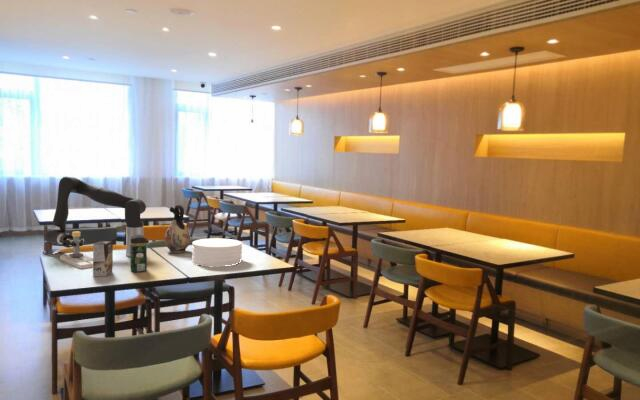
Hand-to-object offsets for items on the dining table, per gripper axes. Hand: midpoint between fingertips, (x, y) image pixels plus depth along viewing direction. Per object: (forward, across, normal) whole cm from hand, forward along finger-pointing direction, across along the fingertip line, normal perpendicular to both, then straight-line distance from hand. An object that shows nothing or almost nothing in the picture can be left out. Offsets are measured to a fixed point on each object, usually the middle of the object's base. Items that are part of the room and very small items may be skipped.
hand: (78, 244), depth 258 cm
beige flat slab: (+3, 0, +10) cm, 10 cm away
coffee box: (+34, -2, +10) cm, 36 cm away
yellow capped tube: (-3, 0, +7) cm, 8 cm away
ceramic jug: (+7, +56, +10) cm, 58 cm away
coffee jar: (+37, +16, +10) cm, 41 cm away
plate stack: (+44, +60, +10) cm, 75 cm away
